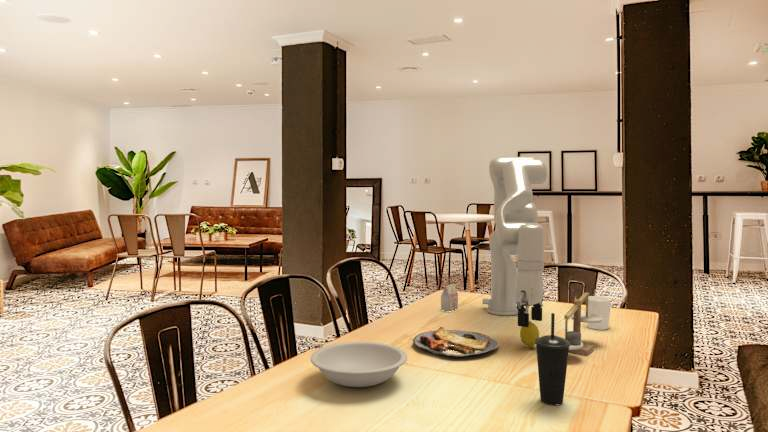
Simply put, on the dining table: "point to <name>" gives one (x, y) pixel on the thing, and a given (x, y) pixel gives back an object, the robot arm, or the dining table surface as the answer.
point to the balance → (579, 326)
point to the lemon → (529, 334)
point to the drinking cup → (552, 366)
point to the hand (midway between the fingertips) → (530, 323)
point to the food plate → (455, 342)
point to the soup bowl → (359, 362)
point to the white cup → (599, 311)
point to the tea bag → (449, 298)
